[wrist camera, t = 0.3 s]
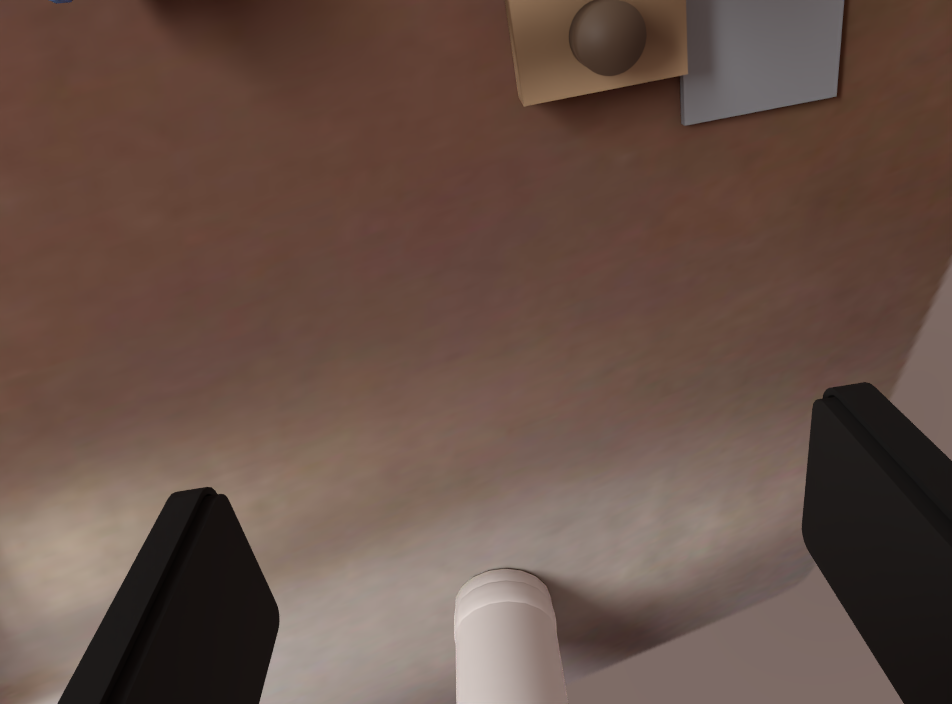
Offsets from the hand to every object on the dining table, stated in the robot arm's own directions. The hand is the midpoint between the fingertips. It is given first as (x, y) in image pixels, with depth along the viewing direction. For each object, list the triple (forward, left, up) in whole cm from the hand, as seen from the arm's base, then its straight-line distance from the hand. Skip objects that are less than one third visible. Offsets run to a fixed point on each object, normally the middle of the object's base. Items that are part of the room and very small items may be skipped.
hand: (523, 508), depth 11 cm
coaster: (-2, +15, -29) cm, 33 cm away
